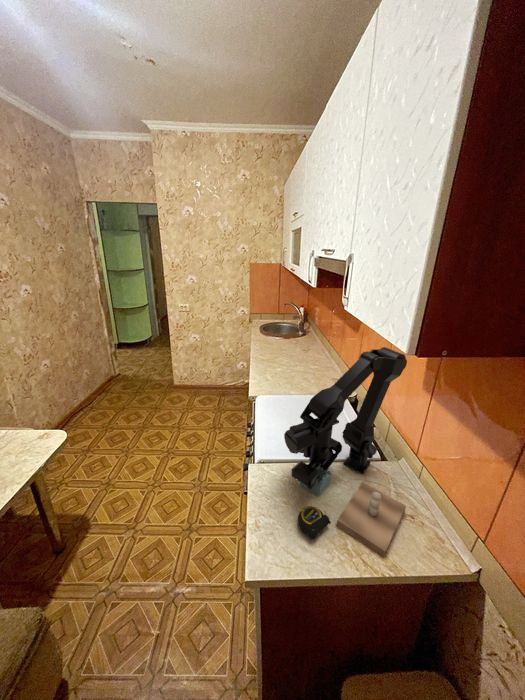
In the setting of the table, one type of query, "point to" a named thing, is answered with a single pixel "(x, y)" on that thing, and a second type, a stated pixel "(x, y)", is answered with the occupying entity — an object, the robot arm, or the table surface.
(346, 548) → the table surface
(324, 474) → the collar
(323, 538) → the table surface
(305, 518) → the tape measure
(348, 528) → the post board
